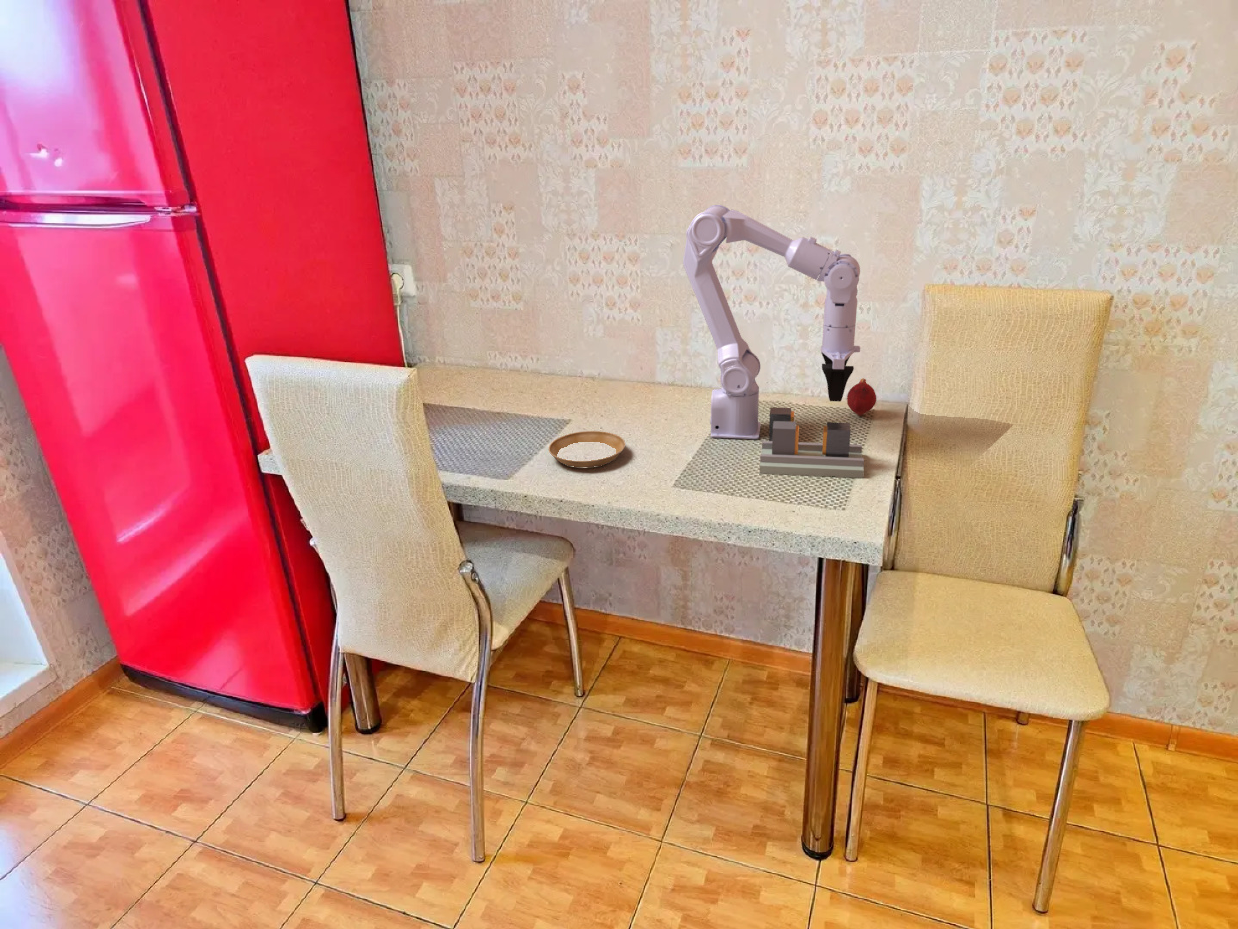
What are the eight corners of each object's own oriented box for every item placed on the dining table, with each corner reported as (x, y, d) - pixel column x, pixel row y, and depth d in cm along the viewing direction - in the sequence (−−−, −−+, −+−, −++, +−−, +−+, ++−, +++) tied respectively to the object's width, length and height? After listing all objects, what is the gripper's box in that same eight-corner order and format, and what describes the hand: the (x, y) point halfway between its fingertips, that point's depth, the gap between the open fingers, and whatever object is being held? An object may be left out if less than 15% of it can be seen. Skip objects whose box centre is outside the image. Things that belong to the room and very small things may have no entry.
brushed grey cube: (821, 460, 148) (823, 429, 146) (821, 452, 151) (823, 422, 149) (848, 461, 147) (850, 430, 145) (847, 453, 151) (849, 423, 148)
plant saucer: (533, 461, 158) (532, 449, 157) (585, 436, 168) (585, 425, 167) (589, 481, 149) (588, 468, 148) (641, 453, 159) (641, 441, 158)
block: (768, 442, 161) (769, 413, 158) (769, 435, 164) (770, 407, 161) (792, 443, 160) (794, 414, 157) (793, 436, 163) (794, 407, 160)
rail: (759, 473, 148) (760, 434, 145) (762, 450, 157) (763, 414, 154) (863, 478, 145) (866, 438, 142) (860, 454, 154) (863, 417, 150)
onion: (875, 421, 168) (879, 384, 164) (846, 420, 169) (849, 383, 166) (873, 410, 173) (876, 374, 170) (845, 410, 174) (847, 374, 171)
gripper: (864, 335, 144) (858, 407, 150) (860, 313, 157) (854, 381, 162) (822, 334, 145) (818, 406, 151) (821, 313, 158) (818, 380, 164)
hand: (834, 393), depth 157 cm, fingers open, 7 cm apart
